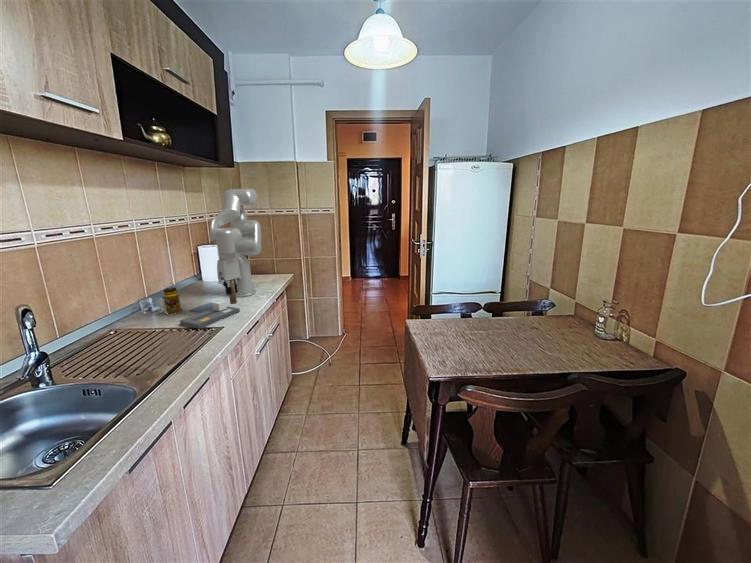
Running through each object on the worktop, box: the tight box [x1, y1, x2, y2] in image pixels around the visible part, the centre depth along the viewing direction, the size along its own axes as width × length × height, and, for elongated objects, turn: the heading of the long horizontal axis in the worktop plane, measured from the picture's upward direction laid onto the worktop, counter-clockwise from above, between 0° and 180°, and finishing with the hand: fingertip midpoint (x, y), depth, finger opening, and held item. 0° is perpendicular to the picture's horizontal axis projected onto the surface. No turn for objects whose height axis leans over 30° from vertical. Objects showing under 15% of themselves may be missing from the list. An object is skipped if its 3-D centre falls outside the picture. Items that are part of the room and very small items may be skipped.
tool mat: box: [188, 302, 214, 314], centre depth 167 cm, size 12×10×1 cm
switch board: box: [179, 305, 241, 330], centre depth 153 cm, size 22×12×2 cm, turn 155°
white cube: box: [212, 300, 227, 311], centre depth 158 cm, size 4×4×4 cm
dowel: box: [228, 279, 238, 305], centre depth 164 cm, size 3×3×14 cm
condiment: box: [163, 286, 186, 315], centre depth 162 cm, size 7×8×12 cm
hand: (232, 293), depth 164 cm, fingers closed on dowel, 3 cm apart
